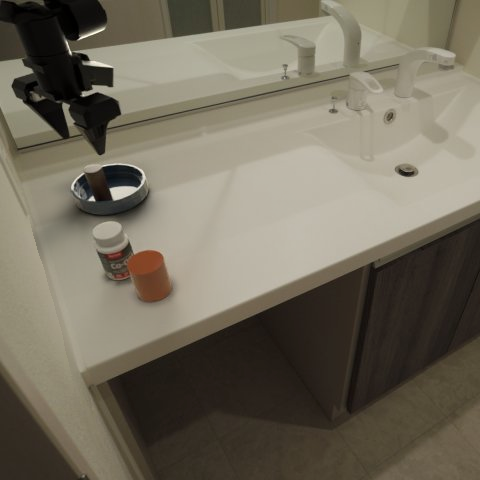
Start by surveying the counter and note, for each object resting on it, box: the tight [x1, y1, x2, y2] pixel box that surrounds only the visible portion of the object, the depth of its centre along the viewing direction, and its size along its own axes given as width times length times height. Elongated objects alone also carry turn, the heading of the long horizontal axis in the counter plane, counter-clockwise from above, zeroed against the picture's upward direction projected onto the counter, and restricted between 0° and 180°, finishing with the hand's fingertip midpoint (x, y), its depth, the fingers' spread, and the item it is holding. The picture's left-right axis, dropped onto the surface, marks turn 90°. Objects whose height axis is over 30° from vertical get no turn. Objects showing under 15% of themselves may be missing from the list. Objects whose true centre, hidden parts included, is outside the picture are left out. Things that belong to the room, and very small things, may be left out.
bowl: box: [70, 163, 150, 216], centre depth 79 cm, size 13×13×3 cm
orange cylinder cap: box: [127, 249, 173, 303], centre depth 62 cm, size 5×5×6 cm
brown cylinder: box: [82, 163, 113, 201], centre depth 76 cm, size 3×3×7 cm
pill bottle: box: [91, 221, 135, 281], centre depth 63 cm, size 5×5×8 cm
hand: (83, 146), depth 71 cm, fingers open, 9 cm apart
